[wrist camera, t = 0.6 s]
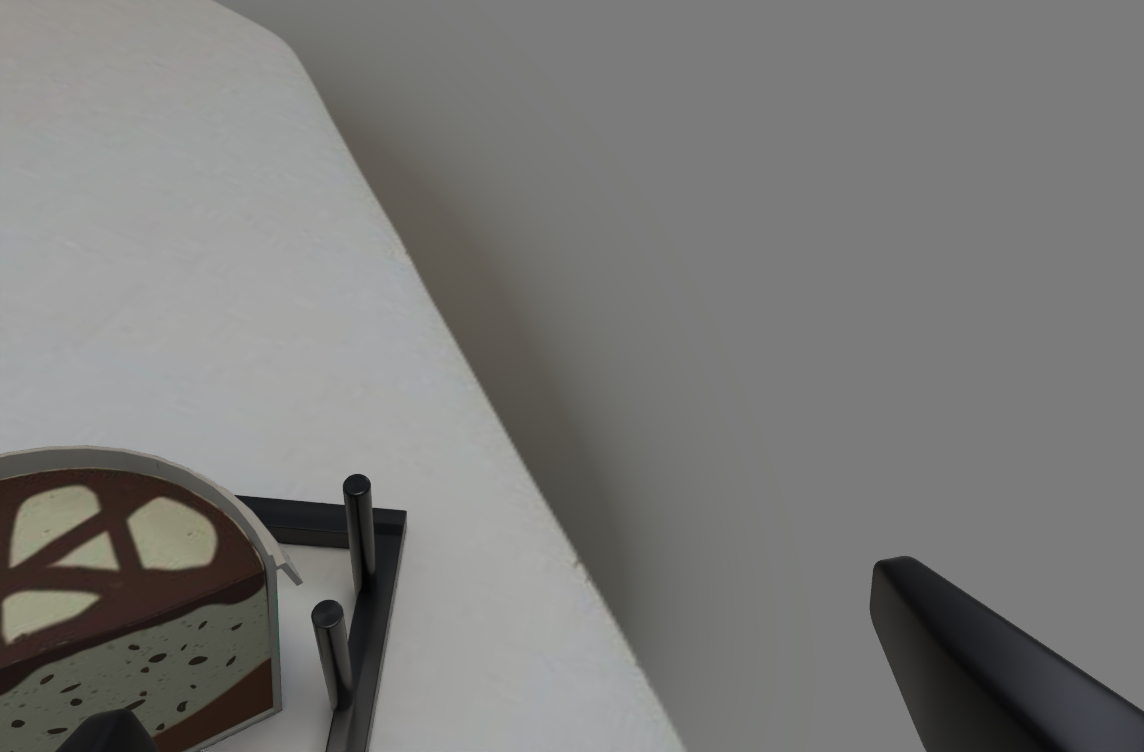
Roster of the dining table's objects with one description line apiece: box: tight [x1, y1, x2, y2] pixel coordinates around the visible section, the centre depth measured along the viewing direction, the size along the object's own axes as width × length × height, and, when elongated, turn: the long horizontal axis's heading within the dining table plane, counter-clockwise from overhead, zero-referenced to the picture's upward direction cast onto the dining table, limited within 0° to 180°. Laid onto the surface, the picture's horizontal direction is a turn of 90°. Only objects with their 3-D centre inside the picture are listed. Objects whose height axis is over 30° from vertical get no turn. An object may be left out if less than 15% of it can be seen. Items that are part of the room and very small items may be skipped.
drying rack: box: [234, 474, 407, 752], centre depth 22 cm, size 14×17×8 cm
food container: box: [0, 445, 303, 752], centre depth 22 cm, size 12×6×10 cm, turn 122°
